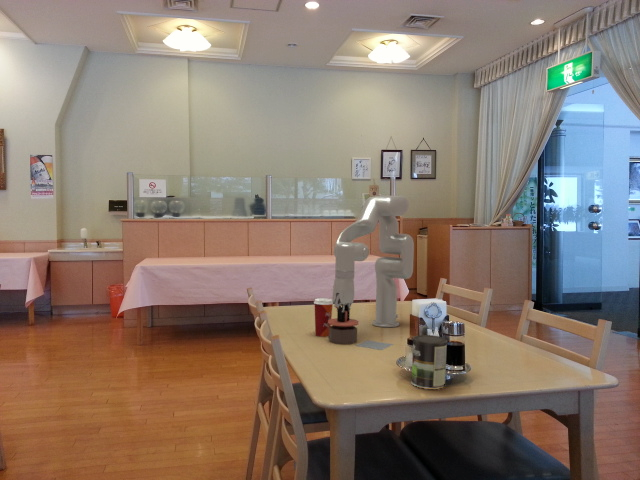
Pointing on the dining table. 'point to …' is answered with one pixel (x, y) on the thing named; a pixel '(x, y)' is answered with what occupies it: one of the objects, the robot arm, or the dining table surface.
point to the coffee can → (429, 361)
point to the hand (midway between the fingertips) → (343, 320)
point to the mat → (374, 345)
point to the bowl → (342, 334)
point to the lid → (346, 323)
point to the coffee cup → (322, 316)
